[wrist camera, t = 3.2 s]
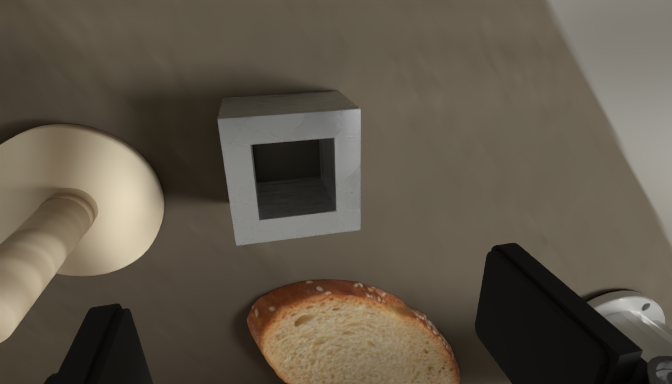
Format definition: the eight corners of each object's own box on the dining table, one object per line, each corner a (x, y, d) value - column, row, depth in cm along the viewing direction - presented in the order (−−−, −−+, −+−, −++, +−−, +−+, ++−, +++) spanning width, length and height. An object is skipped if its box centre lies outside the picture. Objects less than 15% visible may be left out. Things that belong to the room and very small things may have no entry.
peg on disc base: (146, 117, 22) (77, 190, 13) (177, 255, 26) (140, 386, 17) (-42, 130, 20) (-270, 223, 11) (20, 276, 24) (-114, 432, 15)
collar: (338, 90, 23) (360, 109, 19) (340, 192, 26) (360, 229, 22) (223, 97, 22) (217, 119, 18) (237, 203, 25) (236, 245, 20)
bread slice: (244, 282, 28) (244, 318, 25) (476, 263, 32) (504, 292, 28) (253, 450, 35) (254, 496, 32) (441, 418, 39) (460, 456, 35)
